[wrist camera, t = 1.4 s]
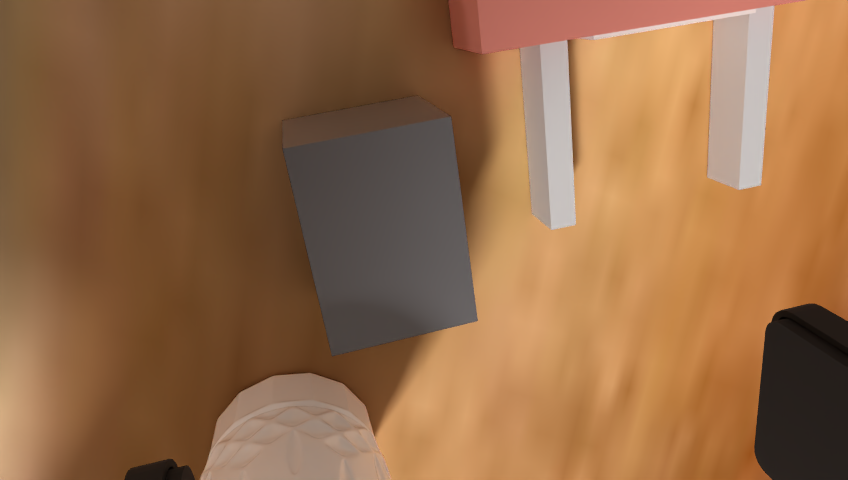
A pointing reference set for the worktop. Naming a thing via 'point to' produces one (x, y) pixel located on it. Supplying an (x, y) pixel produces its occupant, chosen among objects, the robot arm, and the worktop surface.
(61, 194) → the worktop surface
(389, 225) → the gray rectangular box
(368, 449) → the white cup
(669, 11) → the pink two-prong plug
